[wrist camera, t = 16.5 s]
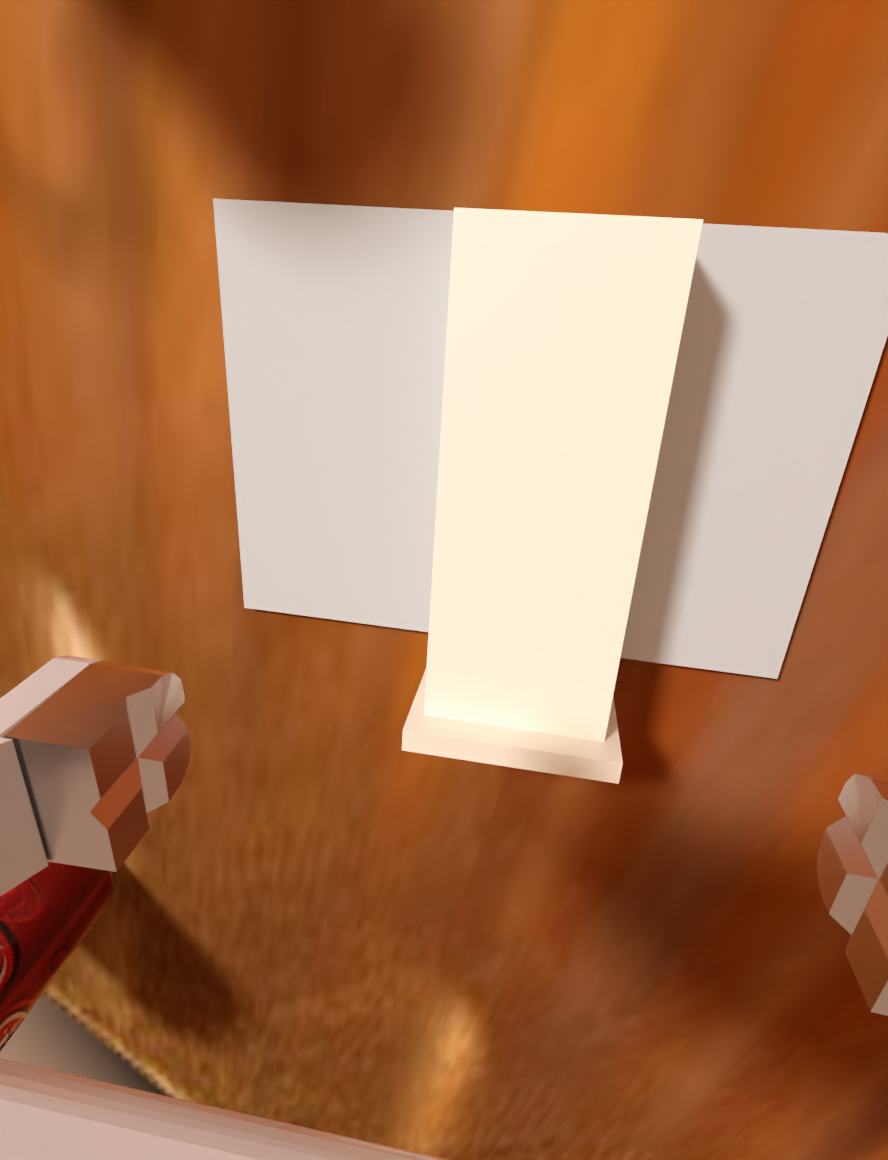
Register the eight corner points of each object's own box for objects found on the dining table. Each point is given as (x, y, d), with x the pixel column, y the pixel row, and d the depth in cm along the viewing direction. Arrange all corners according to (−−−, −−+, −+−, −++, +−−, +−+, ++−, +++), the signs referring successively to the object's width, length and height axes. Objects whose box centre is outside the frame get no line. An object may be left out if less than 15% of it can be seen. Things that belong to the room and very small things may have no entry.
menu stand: (618, 783, 21) (735, 214, 15) (401, 750, 21) (427, 200, 15) (607, 698, 25) (693, 238, 19) (429, 674, 26) (457, 226, 20)
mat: (248, 603, 26) (244, 607, 26) (219, 200, 20) (212, 198, 20) (774, 673, 24) (777, 678, 23) (912, 235, 18) (919, 234, 17)
